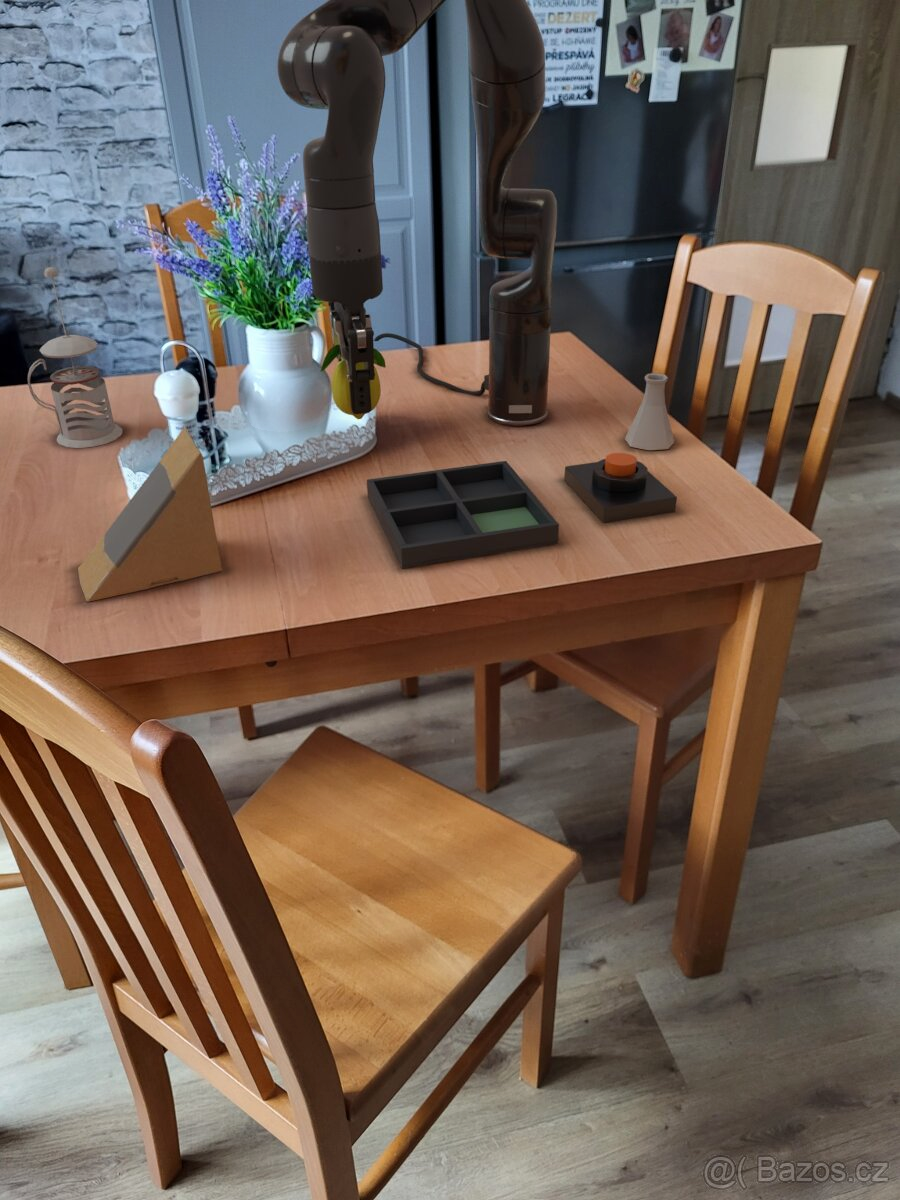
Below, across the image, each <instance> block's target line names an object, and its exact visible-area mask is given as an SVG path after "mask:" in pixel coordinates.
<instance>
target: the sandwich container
mask: <svg viewBox="0 0 900 1200" xmlns="http://www.w3.org/2000/svg"><path fill="white" fill-rule="evenodd" d="M208 485H209V484H208V479H207V473H206V466H205V461H204V455H203V454H202V452H201V450H200V449H199V447H198V446H197V444H196V442H195V441H194V439H193V437H192V435H191V434H190V431H189V430H188V428H187V427H186V426H184V427H183V428H182V429H181V431H180V432H179V434H178V435H177V436H176V438H175V439H174V441H173V442H172V443H171V445H170V446H169V447H168V449H167V450H166V451H165V453H164V454H163V456H162V457H161V459H160V460H159V461H158V463H157V464H156V465H155V467H154V468H153V470H152V471H151V472H150V473H149V475H148V476H147V478H146V479H145V480H144V482H143V483H142V484H141V486H139V488H138V489H137V491H136V492H135V494H133V496H132V497H131V499H130V500H129V501H128V503H127V504H126V505H125V507H124V508H123V510H122V511H121V512H120V513H119V515H118V516H117V517H116V519H115V520H114V521H113V522H112V524H111V525H110V527H109V528H108V529H107V531H106V532H105V533H104V535H103V536H102V537H101V538H100V540H99V541H98V542H97V544H96V545H95V546H94V547H93V549H92V550H91V551H90V553H88V555H87V556H86V558H85V559H84V560H83V561H82V563H81V564H80V566H79V567H78V568H77V572H78V579H79V585H80V588H81V590H82V593H83V596H84V598H85V601H86V602H88V603H90V602H94V601H98V600H102V599H106V598H107V599H108V598H112V597H117V596H120V595H125V594H126V595H127V594H131V593H135V592H140V591H144V590H149V589H152V588H156V587H161V586H165V585H169V584H173V583H177V582H182V581H187V580H191V579H194V578H198V577H203V576H206V575H207V576H208V575H211V574H215V573H218V572H221V571H223V569H222V562H221V557H220V550H219V545H218V538H217V533H216V526H215V521H214V514H213V509H212V503H211V497H210V491H209V486H208Z"/></svg>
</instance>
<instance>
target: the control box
mask: <svg viewBox="0 0 900 1200" xmlns="http://www.w3.org/2000/svg"><path fill="white" fill-rule="evenodd" d="M605 459H606V458H603V459H601V460H599V461H593V462H587V463H580V464H573V465H566V466H564V476H563V477H564V479H563V482H565V484H566V485H567V486H568V487H569V488H570V489H571V490H572V491H573V492H574V493H575V494H576V495H577V497H578V498H579V499H580V500H581V501H582V502H583V503H584V504H585V505H586V506H587V507H588V509H589V510H590V511H591V512H592V513H593V515H595V516H596V517H597V519H599V521H600V522H601V523H602V524H607V523H613V522H614V523H615V522H620V521H628V520H632V519H633V520H634V519H638V518H639V519H640V518H646V517H647V518H648V517H651V516H652V517H653V516H659V515H664V514H665V515H666V514H671V513H672V514H673V513H676V509H677V501H678V497H677V495H676V494H674V493H673V492H672V491H671V490H670V489H669V488H668V487H666V485H664V483H662V482H661V481H660V480H658V478H657V477H656V476H654V475H653V474H652V473H651V472H650V471H648V467H647V466H646V465H645V464H644V463H643V462H641V461H639V460H637V464H636V473H635V474H633V475H630V476H614V475H611V474H608V473H606V472H605Z"/></svg>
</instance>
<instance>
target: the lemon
mask: <svg viewBox="0 0 900 1200" xmlns="http://www.w3.org/2000/svg"><path fill="white" fill-rule="evenodd" d="M339 354H340V350H339V344H338V345H335V346H334V347H333V346H332V347H330V348H329V350H328V351H327V353H326V354H325V356H324V359H323V361H322V364H321V367H320V370H319V372H321V373H322V372H323V371H325V370H326V369H327V368H328V367H329V366H330V365H331V364H332V362H333V361H334V360H335V359H336V357H337V356H338V355H339ZM376 366H377V367H381V368H384V369H386V359H385V358H384V356H383V354H382V353H381V352H380V351H379V350H378V349H376V348H374V372H375V376H374V380H370V393H371V408H372V409H371V411H370V412H369V413H371V412H372V411H374V410H375V408H376V407H377V405H378V403H379V401H380V398H381V389H382V388H381V380H380V376H379V373H378V371H377V370H378V369H377V368H376ZM362 369H365V368H364V362H359V363H357V364H356V370H362ZM331 394H332V399H333V402H334V404H335V406H336V407H337V408H338V409H339V411H341V412H342V413H344V414H346V415H347V416H348V415H349V416H353V417H354V418H355V419H357V420H362V419H363V417H364V416H365V415H367V414H368V413H363V414H354V413H353V412H352V410H351V403H350V390H349V381H348V379H347V367H346V362H345V361H343V360H341V361H340V362H338V363H337V365H336V367H335V369H334V370H333V373H332V379H331Z"/></svg>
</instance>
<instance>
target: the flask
mask: <svg viewBox="0 0 900 1200" xmlns="http://www.w3.org/2000/svg"><path fill="white" fill-rule="evenodd" d="M644 380H645V383H646V384H645V390H644V394H643V397H642V401H641V403H640V406H639V408H638V410H637V412H636V414H635V417H634V419H633V421H632V423H631V425H630V427H629V429H628V431H627V433H626V435H625V437H624V440H625V441H626V443H627V445H629V447H631V448H636V449H641V450H646V451H657V450H658V451H659V450H661V451H662V450H669V449H670V448H671V447H672V445H674V443H675V438H674V435H673V431H672V427H671V422H670V420H669V419H670V418H669V415H668V410H667V405H666V395H665V388H666V383H667V382H668V380H669V377H668V376H667V375H666V374H664V373H663V374H662V373H658V372H657V373H647V374H645V376H644Z"/></svg>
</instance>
